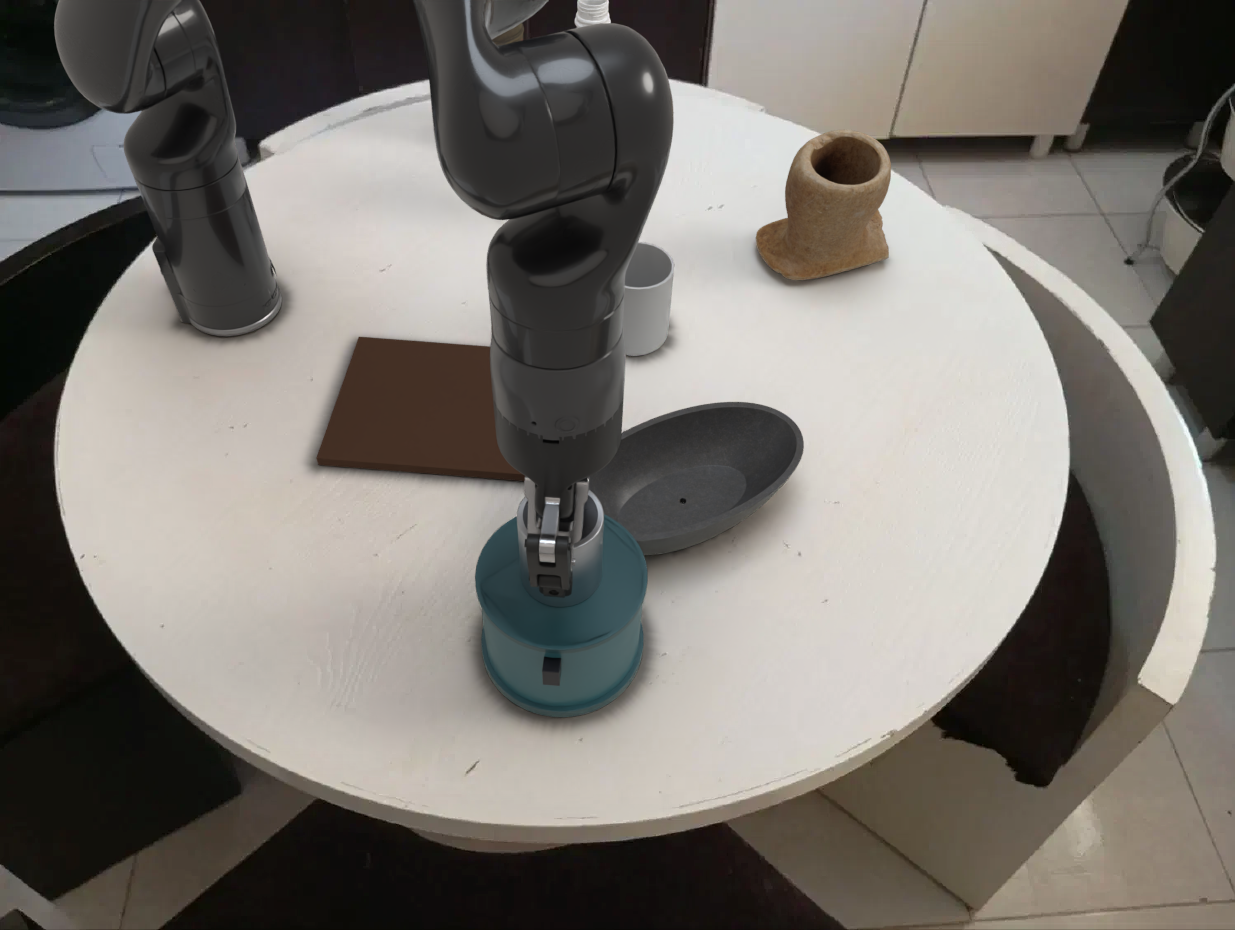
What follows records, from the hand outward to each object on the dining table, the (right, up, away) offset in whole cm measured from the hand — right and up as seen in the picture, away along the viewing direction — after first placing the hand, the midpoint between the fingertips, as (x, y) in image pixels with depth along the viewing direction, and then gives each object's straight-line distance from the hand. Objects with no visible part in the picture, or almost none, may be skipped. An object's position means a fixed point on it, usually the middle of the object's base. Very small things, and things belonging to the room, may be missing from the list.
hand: (561, 551), depth 69 cm
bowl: (+10, +2, +19) cm, 21 cm away
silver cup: (0, -2, +2) cm, 3 cm away
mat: (-13, +11, +25) cm, 31 cm away
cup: (+4, +19, +33) cm, 38 cm away
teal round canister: (0, -8, +10) cm, 13 cm away
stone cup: (+27, +29, +42) cm, 58 cm away
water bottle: (+1, +35, +46) cm, 58 cm away
